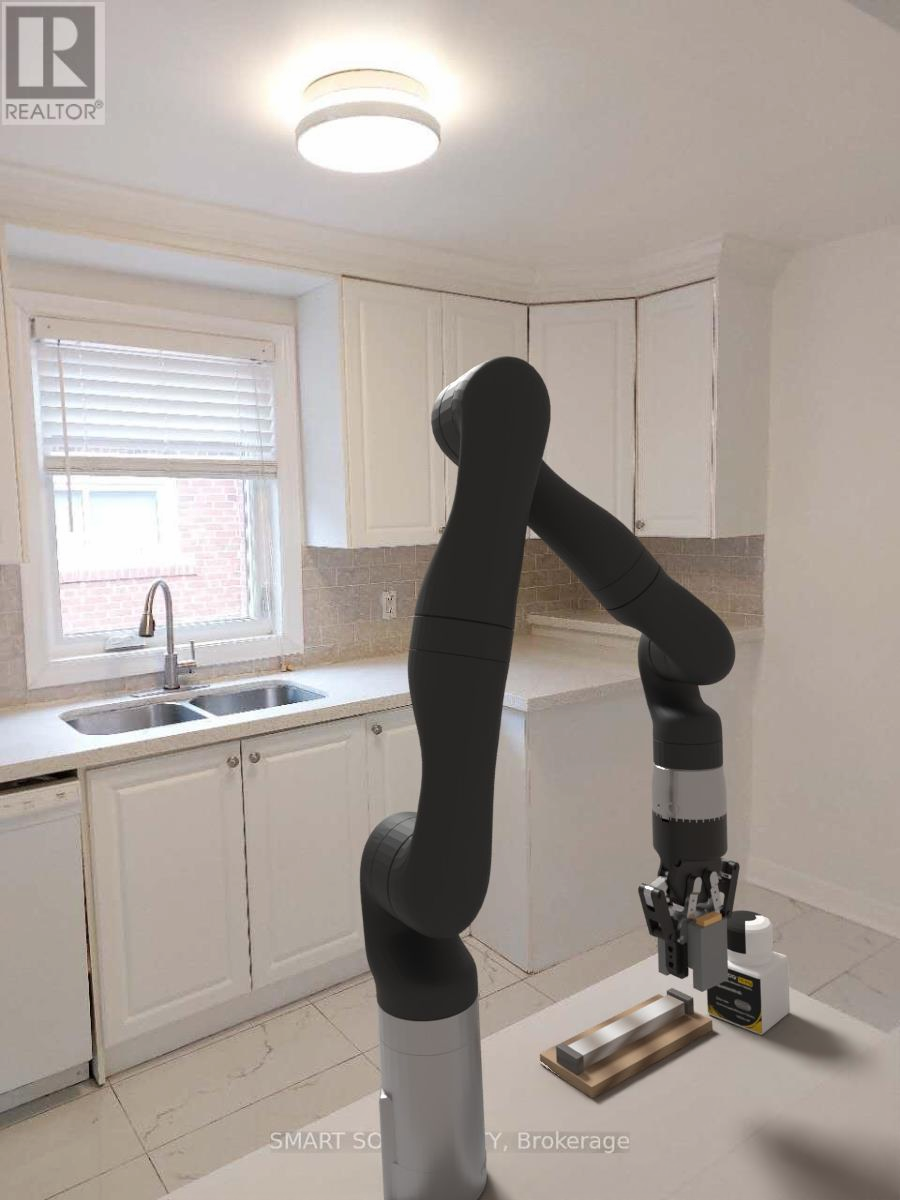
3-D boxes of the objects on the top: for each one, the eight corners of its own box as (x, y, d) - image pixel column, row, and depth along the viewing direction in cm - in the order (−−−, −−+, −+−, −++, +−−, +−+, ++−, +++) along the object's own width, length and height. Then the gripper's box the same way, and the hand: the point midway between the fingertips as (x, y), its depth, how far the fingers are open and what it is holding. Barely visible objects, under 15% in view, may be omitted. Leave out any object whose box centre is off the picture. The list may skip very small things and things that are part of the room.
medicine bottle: (706, 1014, 103) (703, 917, 103) (736, 993, 108) (733, 900, 107) (761, 1036, 98) (758, 934, 97) (791, 1013, 103) (787, 915, 102)
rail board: (592, 1098, 88) (590, 1070, 88) (540, 1064, 95) (539, 1037, 94) (712, 1029, 100) (711, 1004, 100) (659, 1003, 106) (658, 979, 106)
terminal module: (702, 992, 85) (700, 923, 85) (658, 972, 90) (657, 906, 90) (728, 979, 88) (726, 912, 88) (684, 960, 92) (682, 896, 92)
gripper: (702, 788, 95) (706, 938, 96) (614, 811, 87) (618, 976, 88) (761, 801, 89) (764, 961, 90) (672, 827, 81) (676, 1004, 82)
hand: (692, 967), depth 89 cm, fingers closed on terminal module, 4 cm apart
